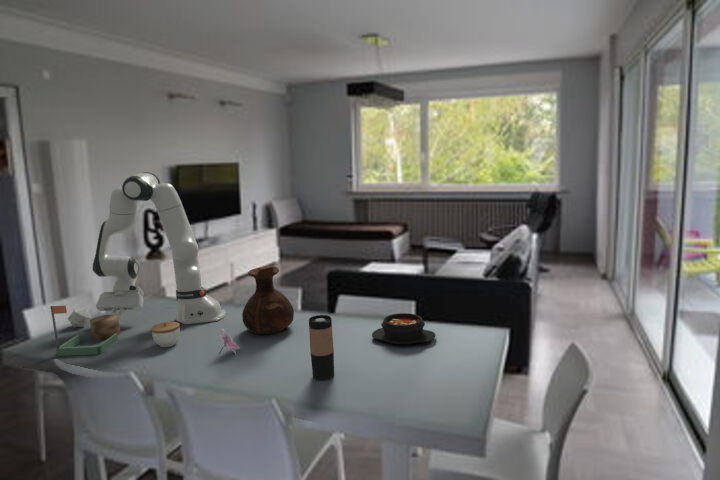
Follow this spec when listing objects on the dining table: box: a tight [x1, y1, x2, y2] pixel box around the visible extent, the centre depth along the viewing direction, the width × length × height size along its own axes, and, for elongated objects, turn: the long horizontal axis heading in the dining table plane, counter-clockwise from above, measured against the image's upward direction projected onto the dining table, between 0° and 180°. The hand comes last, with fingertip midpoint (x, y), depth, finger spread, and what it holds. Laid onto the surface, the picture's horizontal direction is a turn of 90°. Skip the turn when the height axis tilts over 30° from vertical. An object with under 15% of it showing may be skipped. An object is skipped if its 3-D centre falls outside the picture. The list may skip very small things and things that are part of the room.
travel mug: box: [308, 314, 335, 382], centre depth 166 cm, size 8×8×20 cm
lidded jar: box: [150, 321, 181, 348], centre depth 203 cm, size 11×11×9 cm
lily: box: [218, 327, 241, 355], centre depth 191 cm, size 11×11×9 cm
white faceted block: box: [67, 308, 92, 328], centre depth 231 cm, size 8×9×10 cm
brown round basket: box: [89, 314, 121, 341], centre depth 217 cm, size 11×11×8 cm
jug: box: [241, 265, 295, 335], centre depth 212 cm, size 22×22×30 cm
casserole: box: [371, 312, 437, 345], centre depth 197 cm, size 25×19×8 cm
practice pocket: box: [49, 305, 119, 357], centre depth 202 cm, size 17×14×20 cm
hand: (115, 318), depth 227 cm, fingers closed
